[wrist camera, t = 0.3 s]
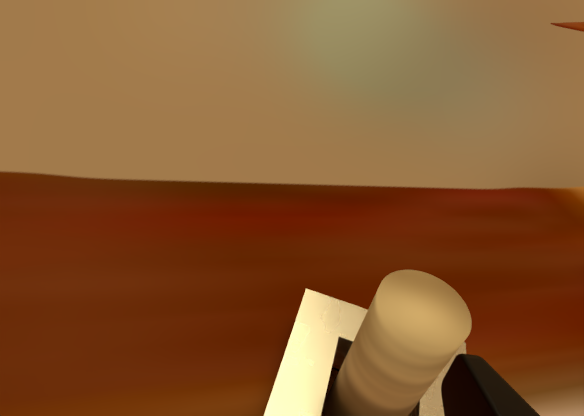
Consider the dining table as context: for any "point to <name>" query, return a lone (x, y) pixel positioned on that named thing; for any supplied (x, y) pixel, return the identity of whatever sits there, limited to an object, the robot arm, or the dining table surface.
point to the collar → (328, 359)
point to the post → (400, 346)
